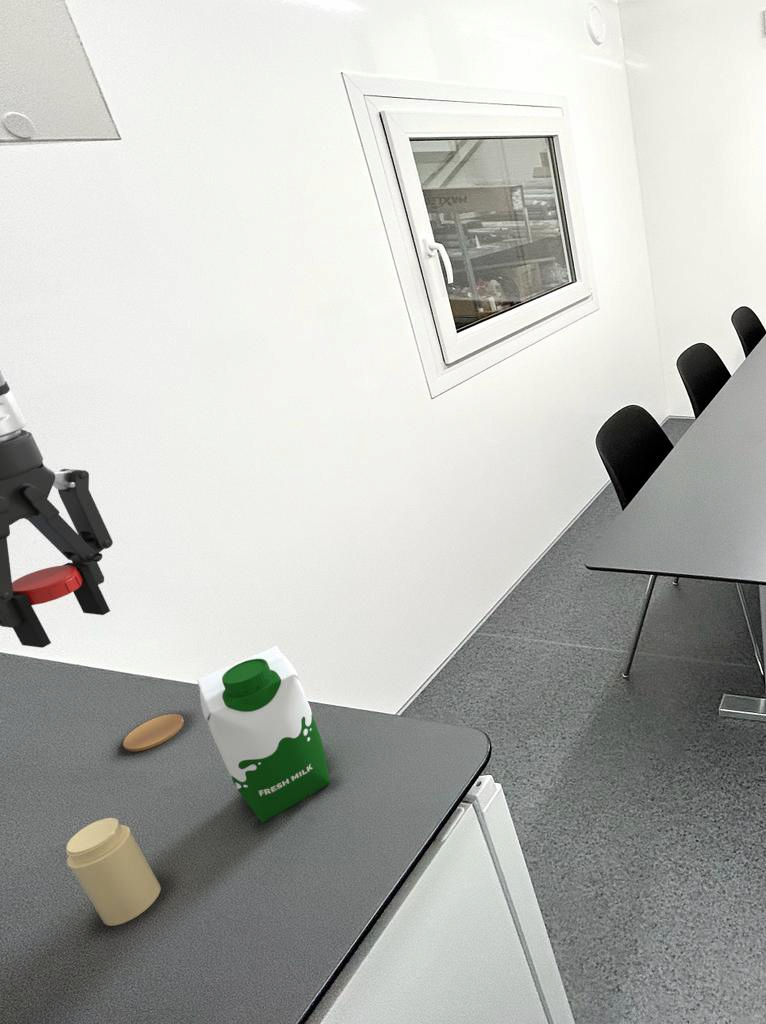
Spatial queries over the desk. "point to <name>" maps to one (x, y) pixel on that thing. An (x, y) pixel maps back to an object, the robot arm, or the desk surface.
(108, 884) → the jar
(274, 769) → the milk carton
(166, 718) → the coaster
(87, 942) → the desk surface
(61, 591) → the jar lid
